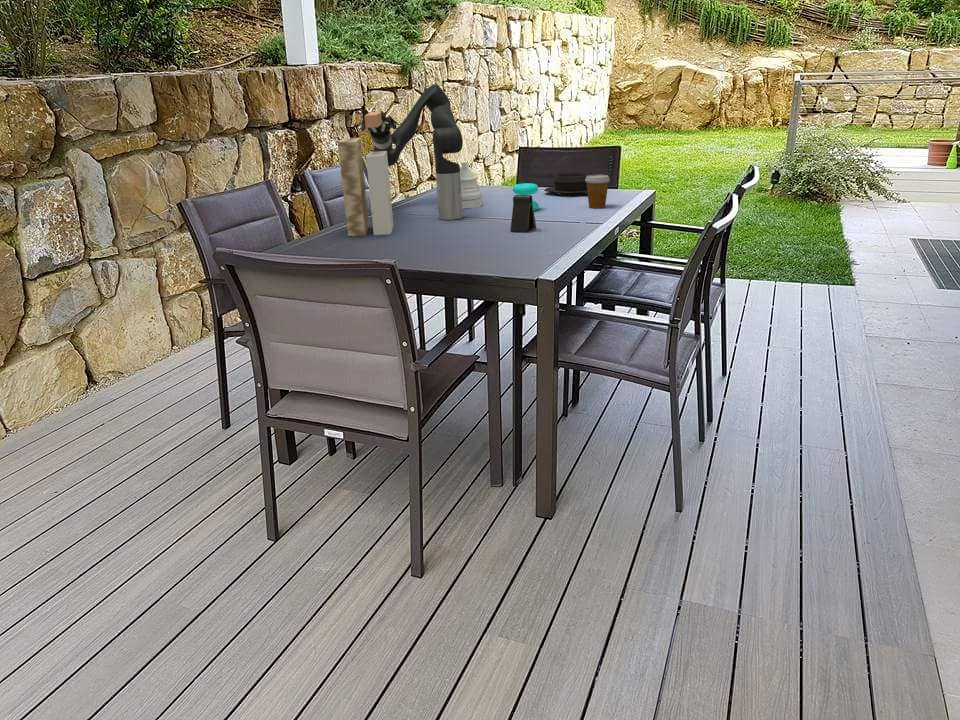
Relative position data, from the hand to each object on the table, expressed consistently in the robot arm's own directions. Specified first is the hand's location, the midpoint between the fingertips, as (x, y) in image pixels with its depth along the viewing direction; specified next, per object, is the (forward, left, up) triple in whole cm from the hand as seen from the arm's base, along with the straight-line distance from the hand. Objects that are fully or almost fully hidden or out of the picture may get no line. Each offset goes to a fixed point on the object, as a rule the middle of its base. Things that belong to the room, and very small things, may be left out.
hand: (375, 114), depth 270 cm
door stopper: (-50, +29, -40) cm, 70 cm away
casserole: (-79, -43, -40) cm, 99 cm away
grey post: (-1, +16, -39) cm, 42 cm away
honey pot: (-32, -26, -40) cm, 57 cm away
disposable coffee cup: (-83, -7, -40) cm, 92 cm away
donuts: (-55, -9, -40) cm, 68 cm away
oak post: (+8, +16, -39) cm, 43 cm away
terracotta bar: (0, +7, -3) cm, 8 cm away
